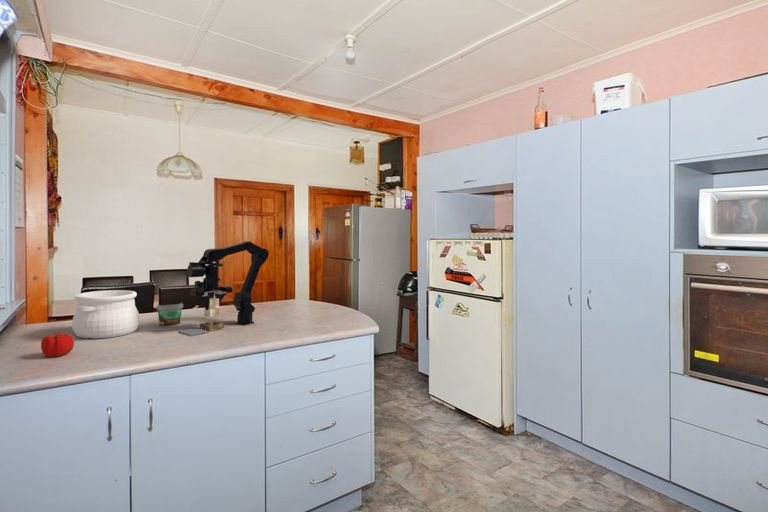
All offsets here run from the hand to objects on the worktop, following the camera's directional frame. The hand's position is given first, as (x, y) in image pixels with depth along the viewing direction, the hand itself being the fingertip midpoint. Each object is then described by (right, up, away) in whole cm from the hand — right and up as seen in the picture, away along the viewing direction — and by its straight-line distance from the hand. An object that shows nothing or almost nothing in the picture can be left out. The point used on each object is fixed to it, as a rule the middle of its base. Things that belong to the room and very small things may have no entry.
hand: (211, 309), depth 188 cm
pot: (-41, -9, -11) cm, 44 cm away
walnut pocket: (0, -9, +1) cm, 9 cm away
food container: (-22, -9, +7) cm, 25 cm away
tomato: (-38, -11, -43) cm, 58 cm away
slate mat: (-5, -10, -7) cm, 13 cm away
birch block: (0, -3, 0) cm, 3 cm away
